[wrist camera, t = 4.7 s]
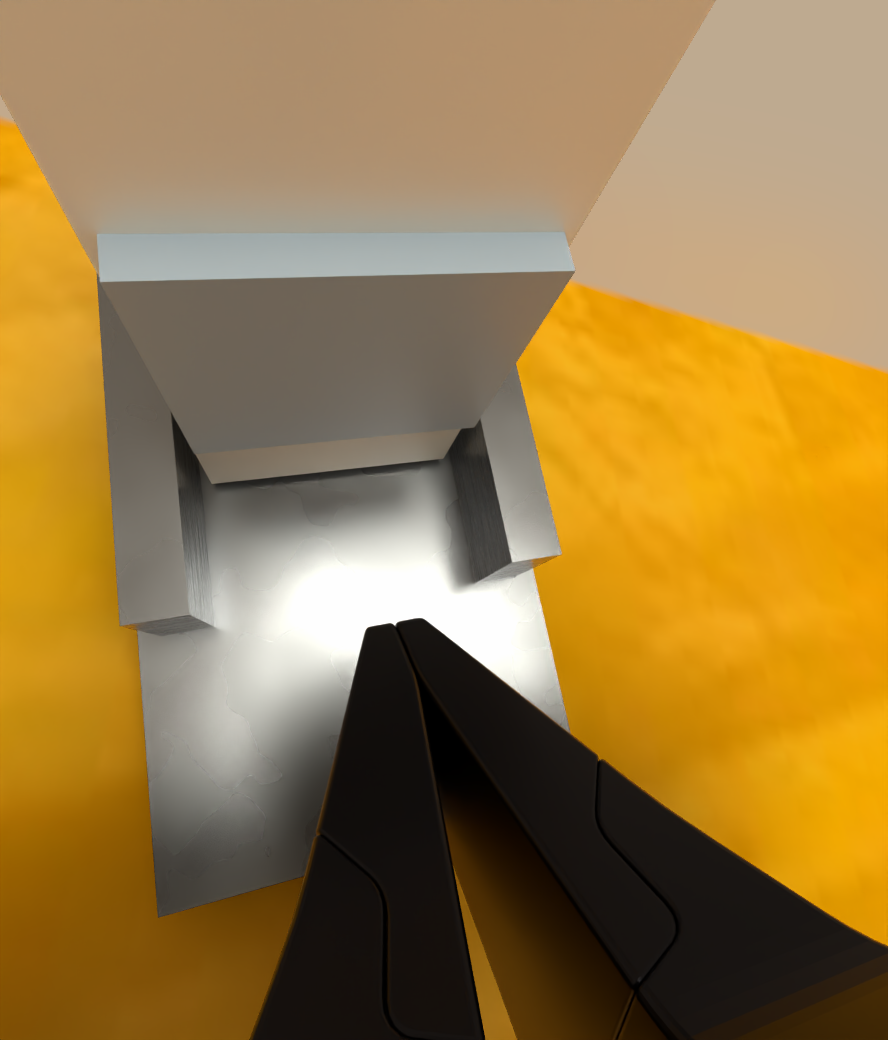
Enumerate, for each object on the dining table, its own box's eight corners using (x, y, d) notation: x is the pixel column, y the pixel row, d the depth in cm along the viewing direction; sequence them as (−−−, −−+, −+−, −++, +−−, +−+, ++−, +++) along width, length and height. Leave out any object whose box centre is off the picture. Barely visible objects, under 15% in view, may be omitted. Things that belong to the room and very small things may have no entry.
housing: (567, 788, 15) (650, 825, 12) (169, 899, 13) (108, 993, 9) (467, 336, 18) (506, 249, 15) (127, 354, 16) (69, 254, 12)
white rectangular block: (447, 478, 16) (804, -49, 4) (214, 507, 14) (-214, -202, 3) (419, 342, 16) (650, -393, 5) (197, 354, 15) (-171, -653, 4)
